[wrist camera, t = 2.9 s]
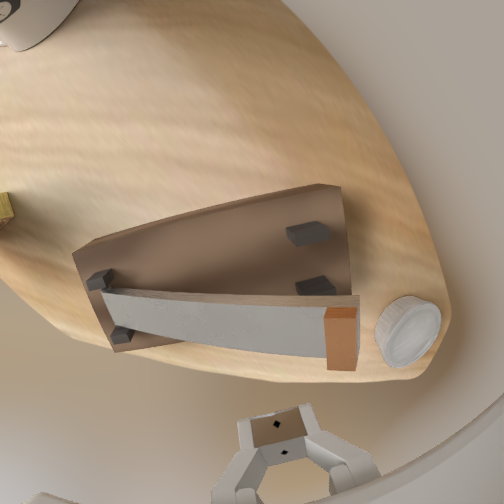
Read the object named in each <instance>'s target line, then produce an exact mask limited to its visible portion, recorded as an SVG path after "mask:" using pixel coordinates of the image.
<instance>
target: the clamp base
mask: <svg viewBox="0 0 504 504" xmlns="http://www.w3.org/2000/svg"><path fill="white" fill-rule="evenodd" d="M72 256H73V258H74V261H75V264H76V267H77V270H78V272H79V275H80V278H81V280H82V283H83V285H84V288H85V290H86V293H87V295H88V298H89V300H90V302H91V305H92V307H93V309H94V311H95V314H96V316H97V318H98V320H99V322H100V324H101V326H102V328H103V331H104V333H105V335H106V337H107V339H108V340H109V342H110V344H111V346H112V348H113V350H114V352H115V353H116V352H124V351H131V350H137V349H144V348H150V347H156V346H162V345H168V344H174V343H179V342H184V340H179V339H174V338H169V337H164V336H160V335H155V334H151V333H146V332H142V331H138V330H134V329H130V328H126V327H122V326H121V327H116V326H115V324H114V322H113V320H112V318H111V315H110V313H109V311H108V309H107V306H106V304H105V302H104V299H103V297H102V294H101V292H100V289H102V288H106V287H107V286H108V285H109V284H110V286H111V287H115V288H127V289H140V290H154V291H169V292H187V293H207V294H233V295H275V296H346V295H352V292H351V276H350V263H349V252H348V242H347V233H346V224H345V216H344V208H343V201H342V194H341V188H340V187H339V186H332V185H325V184H313V185H308V186H303V187H297V188H292V189H287V190H282V191H278V192H273V193H268V194H263V195H259V196H254V197H250V198H245V199H241V200H236V201H232V202H228V203H224V204H219V205H215V206H211V207H207V208H203V209H199V210H195V211H191V212H187V213H184V214H180V215H176V216H172V217H169V218H165V219H161V220H158V221H154V222H150V223H147V224H143V225H140V226H136V227H133V228H130V229H126V230H123V231H120V232H116V233H113V234H110V235H107V236H103V237H100V238H97V239H94V240H93V241H91V242H89V243H88V244H86V245H85V246H83V247H81V248H80V249H78V250H77V251H75V252H74V253H72Z"/></svg>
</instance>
